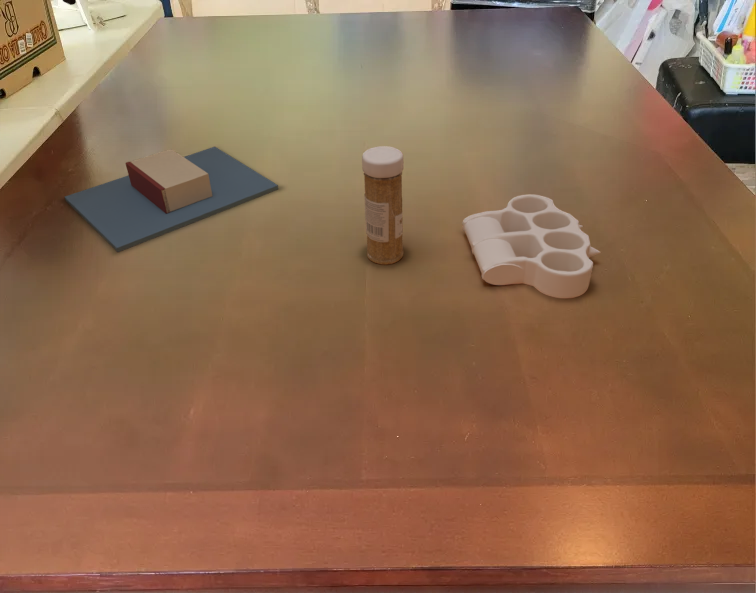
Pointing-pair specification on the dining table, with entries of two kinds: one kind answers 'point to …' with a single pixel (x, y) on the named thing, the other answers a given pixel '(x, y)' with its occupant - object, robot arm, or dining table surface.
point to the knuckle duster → (532, 247)
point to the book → (169, 180)
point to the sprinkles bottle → (383, 203)
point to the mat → (147, 221)
